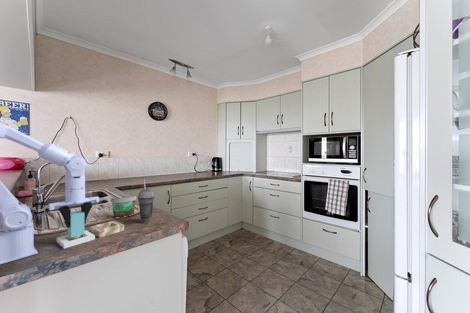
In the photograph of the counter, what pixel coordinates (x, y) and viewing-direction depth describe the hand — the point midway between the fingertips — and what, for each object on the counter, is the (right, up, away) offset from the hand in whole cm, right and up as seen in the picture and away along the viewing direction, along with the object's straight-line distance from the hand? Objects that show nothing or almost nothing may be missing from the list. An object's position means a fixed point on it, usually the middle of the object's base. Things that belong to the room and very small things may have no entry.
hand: (76, 225), depth 73 cm
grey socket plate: (0, -6, 0) cm, 6 cm away
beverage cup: (+17, -6, +21) cm, 27 cm away
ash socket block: (+6, -6, +8) cm, 12 cm away
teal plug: (0, -4, 0) cm, 3 cm away
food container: (+1, -6, +28) cm, 29 cm away
